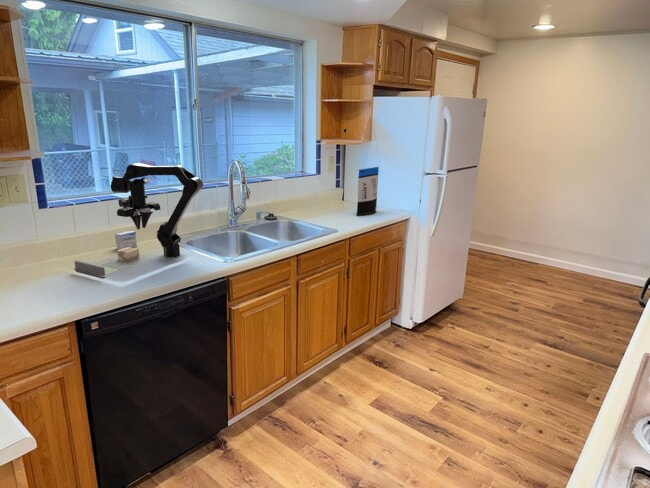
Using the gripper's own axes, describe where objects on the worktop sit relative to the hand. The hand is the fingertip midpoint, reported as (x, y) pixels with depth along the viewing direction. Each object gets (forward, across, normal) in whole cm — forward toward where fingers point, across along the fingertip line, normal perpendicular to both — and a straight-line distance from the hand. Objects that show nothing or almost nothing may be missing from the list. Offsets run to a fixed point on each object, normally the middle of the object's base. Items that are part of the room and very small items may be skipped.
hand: (141, 228), depth 194 cm
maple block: (+12, +8, 0) cm, 14 cm away
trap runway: (+13, +15, 0) cm, 20 cm away
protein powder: (+13, -140, +52) cm, 150 cm away
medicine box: (+13, -3, -14) cm, 20 cm away
